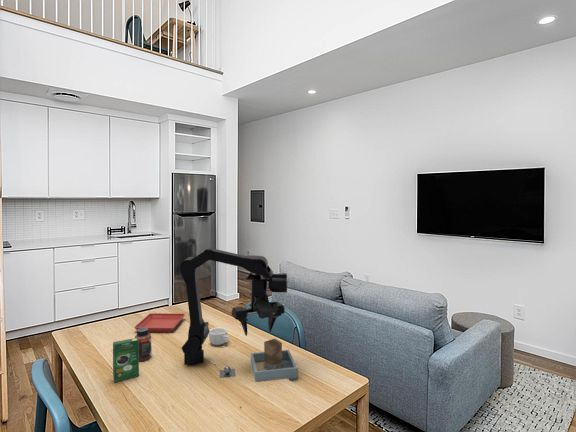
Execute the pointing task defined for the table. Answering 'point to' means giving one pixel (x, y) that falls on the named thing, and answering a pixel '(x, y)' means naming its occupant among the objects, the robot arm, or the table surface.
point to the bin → (287, 372)
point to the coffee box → (125, 359)
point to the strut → (272, 354)
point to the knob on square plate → (227, 372)
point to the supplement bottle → (144, 344)
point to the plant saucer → (160, 322)
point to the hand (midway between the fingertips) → (258, 333)
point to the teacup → (218, 336)
